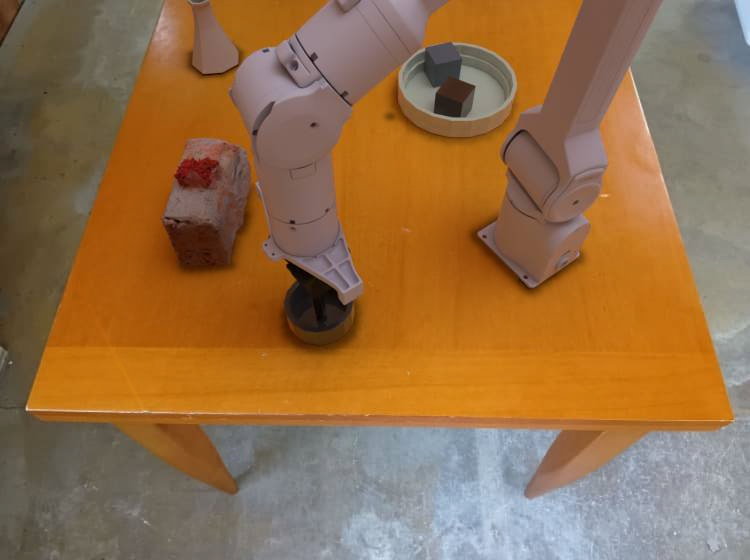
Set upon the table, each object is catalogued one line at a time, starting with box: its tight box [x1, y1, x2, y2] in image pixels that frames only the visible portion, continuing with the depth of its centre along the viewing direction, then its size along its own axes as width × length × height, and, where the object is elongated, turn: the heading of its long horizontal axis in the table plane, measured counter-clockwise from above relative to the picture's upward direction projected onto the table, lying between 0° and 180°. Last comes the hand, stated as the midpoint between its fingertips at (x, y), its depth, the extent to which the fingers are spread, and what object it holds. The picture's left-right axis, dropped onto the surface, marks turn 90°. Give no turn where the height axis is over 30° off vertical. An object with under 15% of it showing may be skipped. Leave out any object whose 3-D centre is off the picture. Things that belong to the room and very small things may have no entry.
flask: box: [186, 0, 240, 75], centre depth 82 cm, size 7×7×10 cm
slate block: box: [424, 41, 462, 88], centre depth 81 cm, size 4×4×4 cm
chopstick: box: [312, 294, 326, 317], centre depth 58 cm, size 1×1×9 cm
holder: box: [283, 280, 356, 346], centre depth 61 cm, size 7×7×4 cm
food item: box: [160, 137, 252, 266], centre depth 66 cm, size 14×8×10 cm, turn 178°
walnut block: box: [434, 76, 476, 118], centre depth 77 cm, size 4×4×4 cm
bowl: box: [397, 42, 518, 138], centre depth 80 cm, size 16×16×4 cm
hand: (315, 285), depth 57 cm, fingers closed on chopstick, 1 cm apart
